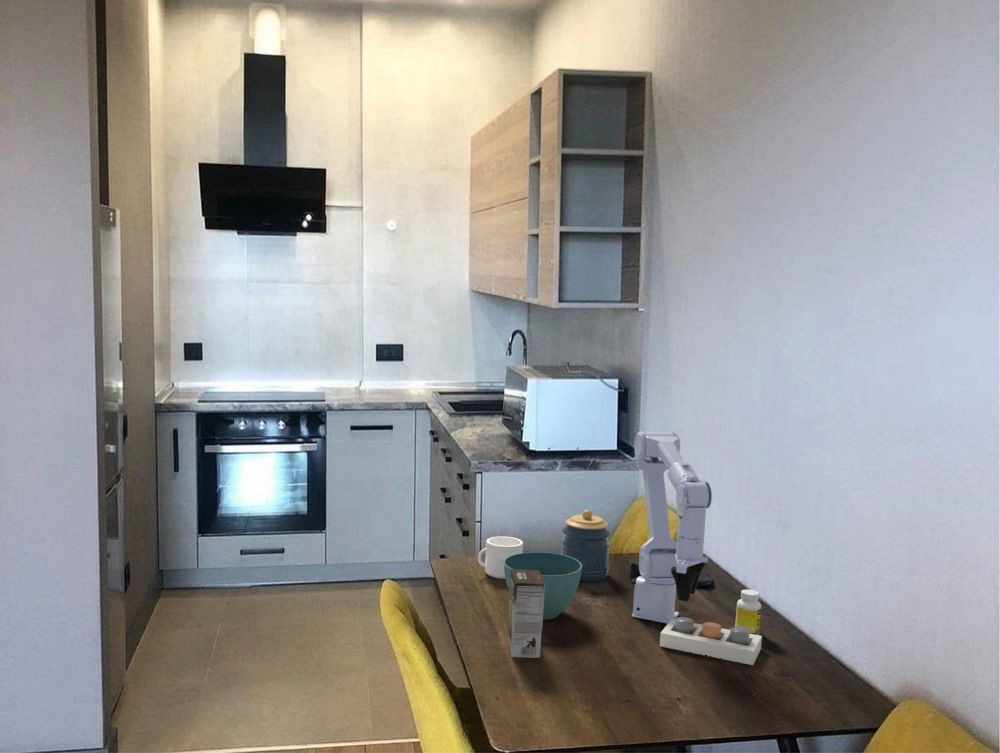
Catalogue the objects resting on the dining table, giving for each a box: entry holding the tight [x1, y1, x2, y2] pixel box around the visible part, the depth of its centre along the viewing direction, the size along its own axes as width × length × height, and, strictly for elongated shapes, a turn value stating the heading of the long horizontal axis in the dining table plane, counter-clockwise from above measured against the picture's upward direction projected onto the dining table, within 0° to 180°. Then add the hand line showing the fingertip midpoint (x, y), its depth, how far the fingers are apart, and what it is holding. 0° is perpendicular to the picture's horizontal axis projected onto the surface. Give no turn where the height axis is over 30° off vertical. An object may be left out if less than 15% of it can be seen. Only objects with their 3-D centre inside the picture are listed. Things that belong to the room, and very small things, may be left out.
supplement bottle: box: [734, 589, 762, 636], centre depth 219 cm, size 5×5×10 cm
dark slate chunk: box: [628, 562, 713, 588], centre depth 257 cm, size 15×22×5 cm
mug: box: [477, 536, 524, 580], centre depth 253 cm, size 12×10×9 cm
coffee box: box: [507, 569, 545, 659], centre depth 203 cm, size 9×6×16 cm
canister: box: [560, 509, 612, 582], centre depth 256 cm, size 13×13×18 cm
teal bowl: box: [504, 551, 582, 621], centre depth 225 cm, size 18×18×12 cm
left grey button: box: [675, 616, 695, 635], centre depth 212 cm, size 4×4×3 cm
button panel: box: [659, 618, 763, 666], centre depth 210 cm, size 20×10×3 cm, turn 66°
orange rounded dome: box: [702, 621, 722, 640], centre depth 210 cm, size 4×4×3 cm
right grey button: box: [729, 627, 749, 646], centre depth 207 cm, size 4×4×3 cm
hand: (686, 596), depth 211 cm, fingers open, 5 cm apart
